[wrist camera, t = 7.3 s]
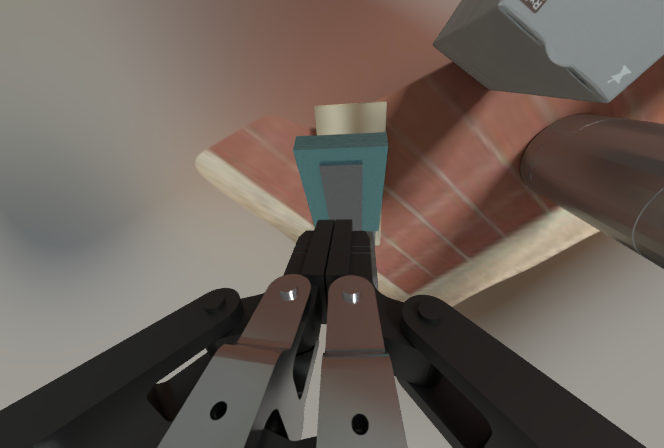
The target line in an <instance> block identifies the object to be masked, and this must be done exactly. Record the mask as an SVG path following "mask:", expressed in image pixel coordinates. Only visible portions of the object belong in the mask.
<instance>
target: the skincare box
mask: <svg viewBox="0 0 664 448" xmlns="http://www.w3.org/2000/svg"><path fill="white" fill-rule="evenodd" d="M433 46H434V47H436V49H438V50H439V51H440V52H442V53H443V54H444V55H445V56H447V57H448V58H449V59H450V60H452V61H453V62H454V63H455V64H457V65H458V66H459V67H460V68H462V69H463V70H464V71H466V72H467V73H468V74H469V75H471V76H472V77H473V78H474V79H476V80H477V81H478V82H480V83H481V84H482V85H483V86H485V87H486V88H487V89H489V90H495V91H505V92H513V93H522V94H531V95H539V96H548V97H556V98H565V99H573V100H582V101H590V102H599V103H609V102H610V101H612V100H613V99H614V98H615V97H616V96H617V95H618V94H620V93H621V92H622V91H623V90H624V89H625V88H626V87H628V86H629V85H630V84H631V83H632V82H633V81H634V80H636V79H637V78H638V77H639V76H640V75H641V74H642V73H644V72H645V71H646V70H647V69H648V68H649V67H650V66H652V65H653V64H654V63H655V62H656V61H657V60H658V59H660V58H661V57H662V56H663V55H664V0H462V1H461V2H460V4H459V5H458V7H457V8H456V10H455V11H454V13H453V14H452V16H451V17H450V19H449V20H448V22H447V23H446V25H445V27H444V28H443V30H442V31H441V32H440V34H439V35H438V37H437V38H436V40H435V41H434V43H433Z"/></svg>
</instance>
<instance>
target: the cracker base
mask: <svg viewBox="0 0 664 448" xmlns="http://www.w3.org/2000/svg"><path fill="white" fill-rule="evenodd" d="M314 108H315V120H316V131H317V135H336V134H357V133H378V132H385V129H386V108H387V102H386V101H384V102H368V103H353V104H336V105H321V106H315V107H314ZM381 214H382V205H381ZM381 214H380V223H379V231H365V232H366V233H367V234H368V236H369V237H370V247H371V263H372V278H373V283H374V286H375V287H376V289H377V290H378V278H377V268H376V257H375V245H380V235H381Z"/></svg>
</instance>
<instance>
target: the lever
mask: <svg viewBox="0 0 664 448" xmlns="http://www.w3.org/2000/svg"><path fill="white" fill-rule="evenodd" d="M293 152H294V156H295V159H296V163H297V166H298V170H299V173H300V177H301V180H302V184H303V187H304V191H305V194H306V198H307V201H308V205H309V208H310V212H311V216H312V219H313V223H314V226H315V227H316V224H317V221H318V220H336V219H352V223H353V231H379V223H380V214H381V205H382V196H383V188H384V179H385V170H386V161H387V152H388V140H387V132H378V133H357V134H336V135H316V136H296V140H295V144H294V148H293Z"/></svg>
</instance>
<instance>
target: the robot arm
mask: <svg viewBox="0 0 664 448" xmlns="http://www.w3.org/2000/svg"><path fill="white" fill-rule="evenodd" d="M520 174H521V177H522V180H523V181H524V183H525V184H526V185H527V186H528V187H529V188H531V189H532V190H534V191H535V192H537V193H539V194H540V195H542V196H544V197H545V198H547V199H549V200H550V201H552V202H553V203H555V204H557V205H558V206H560V207H562V208H563V209H565V210H567V211H568V212H570V213H571V214H573V215H575V216H576V217H578V218H580V219H581V220H583V221H585V222H586V223H588V224H590V225H591V226H593V227H595V228H596V229H598V230H600V231H601V232H603V233H605V234H606V235H608V236H610V237H611V238H613V239H615V240H616V241H618V242H620V243H621V244H623V245H624V246H626V247H628V248H629V249H631V250H633V251H634V252H636V253H638V254H639V255H641V256H643V257H644V258H646V259H648V260H650V261H651V262H653V263H655V264H656V265H658V266H660V267H661V268H663V269H664V124H661V123H653V122H646V121H638V120H630V119H624V118H616V117H608V116H600V115H592V114H577V115H573V116H569V117H566V118H563V119H561V120H558V121H556V122H555V123H553V124H551V125H549V126H548V127H546V128H545V129H544V130H543V131H541V132H540V133H539V134H538V135H537V136H536V137H535V138H534V139H533V140H532V141H531V143H530V144H529V146H528V147H527V149H526V150H525V152H524V155H523V157H522V160H521V164H520ZM321 324H327V330H326V331H327V332H326V348H325V353H323V357H322V366H321V367H322V368H321V382H320V397H319V414H318V429H317V436H316V437H311V438H307V439H303V440H301V436H302V429H303V421H304V407H305V401H306V397H307V392H308V388H309V384H310V380H311V376H312V371H313V367H314V363H315V359H316V355H317V351H318V346H319V333H320V327H321ZM205 348H206V350H207V351H208V352H207V353H206V354H205V355H203V356H202V357H200V358H199V359H197V360H196V361H195V362H193V363H192V364H190V365H189V366H188V367H186V368H185V369H183V370H182V371H181V372H179V373H178V374H176V375H175V376H174V377H172V378H171V379H170V380H168V381H166V382H164V383H160V384H156V383H157V382H158V381H159V380H161V379H162V378H164V377H165V376H167V375H168V374H169V373H171V372H172V371H174V370H175V369H176V368H178V367H179V366H181V365H182V364H184V363H185V362H186V361H188V360H189V359H191V358H192V357H194V356H195V355H196V354H198V353H199V352H200V351H202V350H204V349H205ZM394 376H396V377H397V379H398V382H399V383H400V384H401V386H402V387H403V388H404V390H405V391H406V392H407V393H408V394H409V396H410V397H411V398H412V399H413V400H414V402H415V403H416V404H417V405H418V406H419V407H420V409H421V410H422V411H423V412H424V413H425V415H426V416H427V417H428V418H429V419H430V421H431V422H432V423H433V424H434V426H435V427H436V428H437V429H438V430H439V432H440V433H441V434H442V435H443V436H444V438H445V439H446V440H447V441H448V442H449V444H450V445H451V446H452V447H453V448H646V447H645V446H644V445H642V444H641V443H639V442H638V441H637V440H635V439H634V438H633V437H631V436H630V435H628V434H627V433H625V432H624V431H623V430H621V429H620V428H619V427H617V426H616V425H615V424H613V423H611V422H610V421H609V420H607V419H606V418H605V417H603V416H602V415H601V414H599V413H598V412H597V411H595V410H594V409H592V408H591V407H589V406H588V405H587V404H585V403H584V402H582V401H581V400H580V399H578V398H577V397H576V396H574V395H573V394H572V393H570V392H569V391H567V390H566V389H565V388H563V387H562V386H560V385H559V384H558V383H556V382H555V381H554V380H552V379H551V378H549V377H548V376H546V375H545V374H544V373H542V372H541V371H540V370H538V369H537V368H536V367H534V366H533V365H531V364H530V363H529V362H527V361H526V360H524V359H523V358H522V357H520V356H519V355H517V354H516V353H515V352H513V351H512V350H511V349H509V348H508V347H506V346H505V345H504V344H502V343H501V342H499V341H498V340H497V339H495V338H494V337H492V336H491V335H490V334H488V333H487V332H486V331H484V330H483V329H481V328H480V327H479V326H477V325H476V324H475V323H473V322H472V321H470V320H469V319H468V318H466V317H465V316H463V315H462V314H461V313H459V312H458V311H456V310H455V309H454V308H452V307H451V306H450V305H448V304H447V303H445V302H444V301H442V300H440V299H438V298H436V297H433V296H429V295H416V296H413V297H410V298H409V299H407V300H406V301H405V302H400V301H397V300H394V299H391V298H388V297H386V296H384V295H383V294H381V293H380V292H379V291H378V290H377V289H376V287H375V286H374V283H373V278H372V263H371V247H370V237H369V236H368V234H367V233H366V232H365V231H353V223H352V219H336V220H318V221H317V224H316V227H315V230H314V231H305V232H304V233H303V234H302V235H301V236H300V237H299V238H298V240H297V243H296V246H295V248H294V250H293V253H292V255H291V258H290V260H289V263H288V265H287V268H286V270H285V273H284V275H283V276H282V277H279V278H277V279H276V280H274V281H273V282H272V283H271V284H270V285H269V287H268V288H267V290H266V292H265V293H263V294H260V295H256V296H251V297H247V298H242V299H240V296H239V294H238V293H237V291H235V290H233V289H230V288H221V289H216V290H213V291H211V292H209V293H207V294H205V295H203V296H201V297H199V298H198V299H196V300H194V301H193V302H191V303H189V304H187V305H185V306H184V307H182V308H180V309H178V310H177V311H175V312H173V313H171V314H170V315H168V316H166V317H165V318H163V319H161V320H159V321H157V322H156V323H154V324H152V325H150V326H149V327H147V328H145V329H143V330H141V331H140V332H138V333H136V334H135V335H133V336H131V337H129V338H127V339H126V340H124V341H122V342H120V343H119V344H117V345H115V346H113V347H112V348H110V349H108V350H106V351H105V352H103V353H101V354H99V355H98V356H96V357H94V358H92V359H91V360H89V361H87V362H85V363H83V364H82V365H80V366H78V367H76V368H75V369H73V370H71V371H69V372H68V373H66V374H64V375H62V376H61V377H59V378H57V379H55V380H54V381H52V382H50V383H48V384H47V385H45V386H43V387H41V388H40V389H38V390H36V391H34V392H32V393H31V394H29V395H27V396H25V397H24V398H22V399H20V400H18V401H17V402H15V403H13V404H11V405H10V406H8V407H6V408H4V409H3V410H1V411H0V448H408V447H407V442H406V437H405V431H404V426H403V421H402V415H401V410H400V405H399V400H398V394H397V389H396V384H395V378H394Z"/></svg>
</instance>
